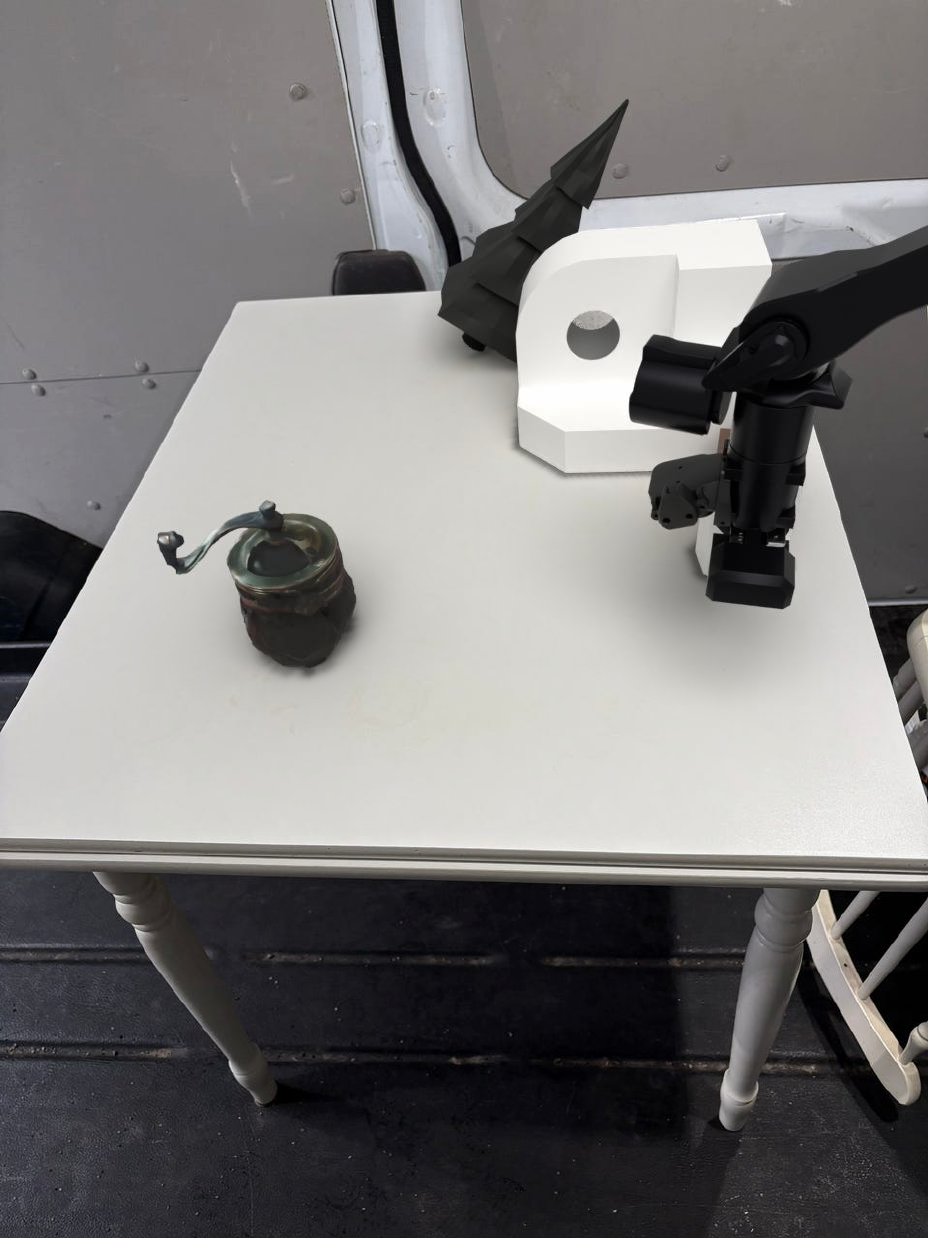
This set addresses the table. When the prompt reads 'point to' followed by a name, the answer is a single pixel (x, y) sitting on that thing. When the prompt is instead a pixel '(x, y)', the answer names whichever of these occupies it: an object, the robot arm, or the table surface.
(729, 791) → the table surface
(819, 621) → the table surface
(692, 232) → the stepped bracket block
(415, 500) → the table surface
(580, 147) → the decorative tree
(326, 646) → the coffee grinder
